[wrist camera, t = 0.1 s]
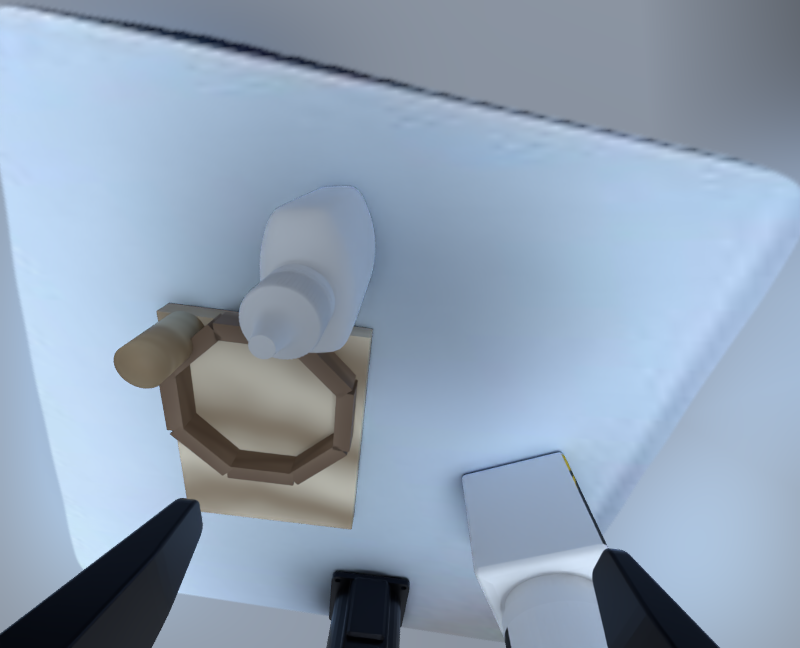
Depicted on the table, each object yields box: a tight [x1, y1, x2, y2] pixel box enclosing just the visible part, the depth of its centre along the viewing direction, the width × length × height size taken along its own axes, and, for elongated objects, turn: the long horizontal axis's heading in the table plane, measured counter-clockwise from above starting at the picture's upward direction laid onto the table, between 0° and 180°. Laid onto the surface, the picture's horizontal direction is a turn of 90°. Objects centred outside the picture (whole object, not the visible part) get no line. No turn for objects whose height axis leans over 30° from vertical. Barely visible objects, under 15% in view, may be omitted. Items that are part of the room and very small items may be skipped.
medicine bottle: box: [462, 452, 608, 648], centre depth 23 cm, size 7×7×12 cm
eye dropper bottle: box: [239, 186, 376, 360], centre depth 15 cm, size 4×6×12 cm
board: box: [114, 303, 373, 529], centre depth 24 cm, size 16×12×5 cm
